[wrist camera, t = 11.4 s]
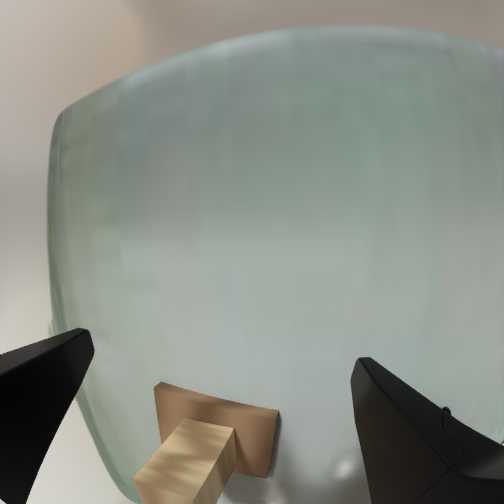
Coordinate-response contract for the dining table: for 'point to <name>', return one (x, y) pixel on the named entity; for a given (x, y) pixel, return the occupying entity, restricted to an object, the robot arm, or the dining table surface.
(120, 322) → the dining table surface
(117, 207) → the dining table surface
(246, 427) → the walnut slab
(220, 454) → the oak pillar
